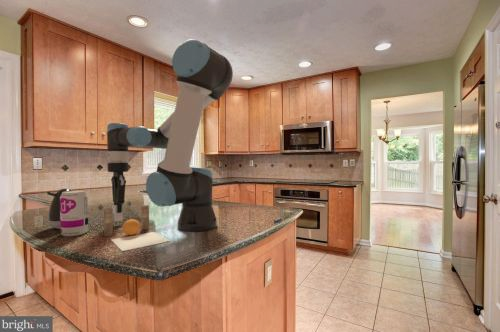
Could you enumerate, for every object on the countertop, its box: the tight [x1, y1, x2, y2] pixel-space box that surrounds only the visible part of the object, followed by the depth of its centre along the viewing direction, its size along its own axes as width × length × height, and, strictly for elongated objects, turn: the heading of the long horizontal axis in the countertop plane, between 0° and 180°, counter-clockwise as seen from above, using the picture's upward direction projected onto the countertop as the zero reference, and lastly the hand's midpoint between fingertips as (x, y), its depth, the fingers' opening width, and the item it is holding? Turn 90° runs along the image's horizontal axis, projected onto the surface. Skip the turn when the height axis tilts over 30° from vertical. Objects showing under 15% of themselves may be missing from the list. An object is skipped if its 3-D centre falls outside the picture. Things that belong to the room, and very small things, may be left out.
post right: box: [141, 204, 150, 231], centre depth 96 cm, size 3×3×9 cm
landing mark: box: [110, 231, 170, 252], centre depth 82 cm, size 14×14×1 cm
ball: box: [122, 218, 141, 236], centre depth 88 cm, size 6×6×6 cm
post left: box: [103, 208, 114, 237], centre depth 88 cm, size 3×3×9 cm
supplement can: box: [59, 190, 89, 237], centre depth 90 cm, size 8×8×15 cm
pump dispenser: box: [46, 188, 72, 230], centre depth 98 cm, size 10×10×15 cm
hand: (118, 220), depth 102 cm, fingers closed
